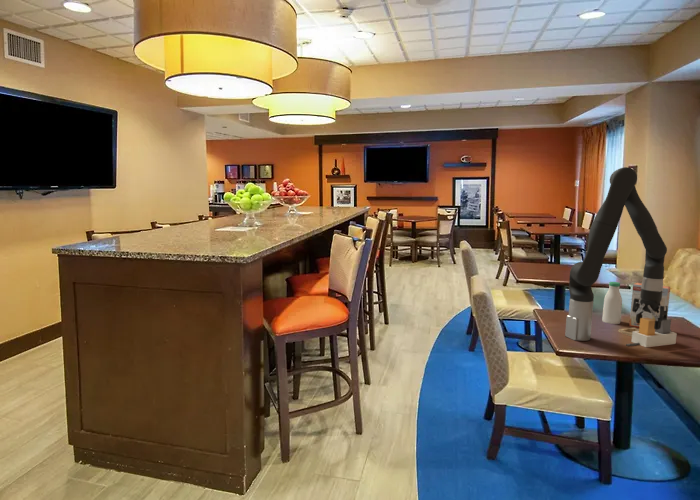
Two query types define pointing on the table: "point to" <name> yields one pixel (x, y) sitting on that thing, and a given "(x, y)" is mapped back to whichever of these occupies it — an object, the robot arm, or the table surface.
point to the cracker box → (636, 294)
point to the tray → (628, 331)
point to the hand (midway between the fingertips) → (647, 326)
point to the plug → (647, 326)
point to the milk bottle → (612, 304)
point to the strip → (655, 336)
